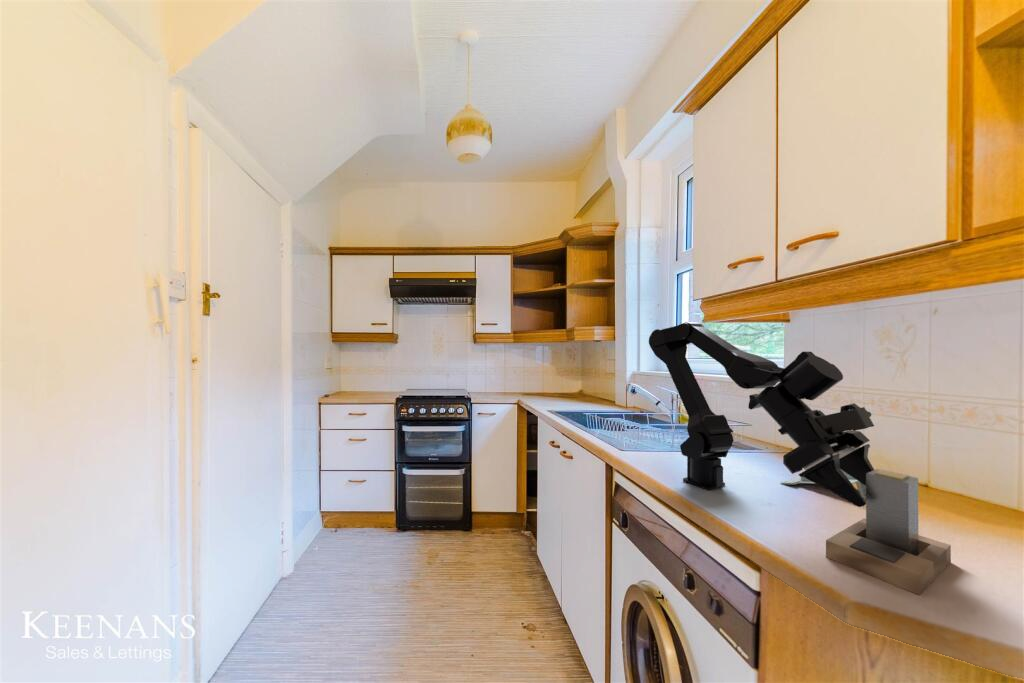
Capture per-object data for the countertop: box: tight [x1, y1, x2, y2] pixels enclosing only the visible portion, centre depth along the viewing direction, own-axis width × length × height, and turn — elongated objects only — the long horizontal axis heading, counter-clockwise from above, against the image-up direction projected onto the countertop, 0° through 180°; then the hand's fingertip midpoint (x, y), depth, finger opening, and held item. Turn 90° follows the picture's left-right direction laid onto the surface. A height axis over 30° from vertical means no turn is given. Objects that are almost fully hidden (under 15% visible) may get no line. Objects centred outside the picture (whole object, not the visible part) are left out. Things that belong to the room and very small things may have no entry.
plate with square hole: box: [825, 517, 952, 596], centre depth 54 cm, size 10×15×3 cm, turn 120°
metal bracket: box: [779, 470, 866, 500], centre depth 82 cm, size 14×6×15 cm
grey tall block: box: [865, 468, 919, 556], centre depth 55 cm, size 4×4×12 cm
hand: (874, 499), depth 56 cm, fingers open, 9 cm apart
